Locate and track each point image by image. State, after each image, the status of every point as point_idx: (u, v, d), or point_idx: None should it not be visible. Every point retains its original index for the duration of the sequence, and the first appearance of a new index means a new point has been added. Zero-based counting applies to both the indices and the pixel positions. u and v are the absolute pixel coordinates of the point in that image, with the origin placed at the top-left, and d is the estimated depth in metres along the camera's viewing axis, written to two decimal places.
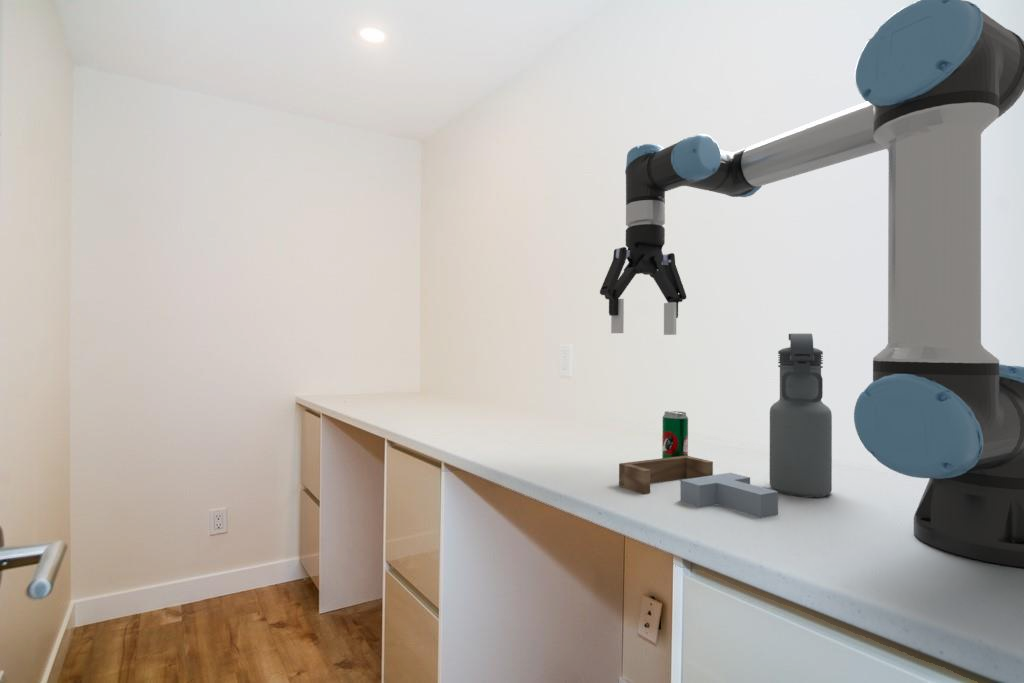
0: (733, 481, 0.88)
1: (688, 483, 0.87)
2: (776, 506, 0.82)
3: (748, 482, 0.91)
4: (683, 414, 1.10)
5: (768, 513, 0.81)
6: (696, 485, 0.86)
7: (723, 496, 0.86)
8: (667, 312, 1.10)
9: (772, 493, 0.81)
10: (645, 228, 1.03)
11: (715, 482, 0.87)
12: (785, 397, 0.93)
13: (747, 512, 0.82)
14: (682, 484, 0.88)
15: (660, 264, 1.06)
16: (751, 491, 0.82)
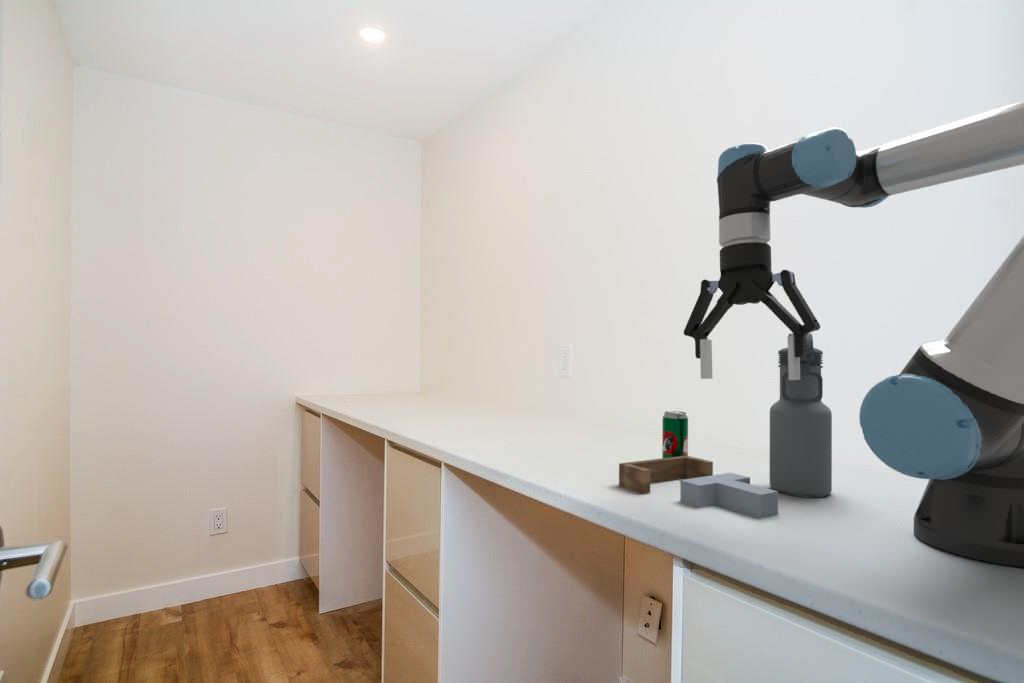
0: (733, 481, 0.88)
1: (688, 483, 0.87)
2: (776, 506, 0.82)
3: (748, 482, 0.91)
4: (683, 414, 1.10)
5: (768, 512, 0.81)
6: (696, 485, 0.86)
7: (723, 496, 0.86)
8: None
9: (772, 493, 0.81)
10: (722, 253, 0.85)
11: (715, 482, 0.87)
12: (785, 397, 0.93)
13: (747, 512, 0.82)
14: (682, 484, 0.88)
15: (758, 289, 0.82)
16: (751, 491, 0.82)
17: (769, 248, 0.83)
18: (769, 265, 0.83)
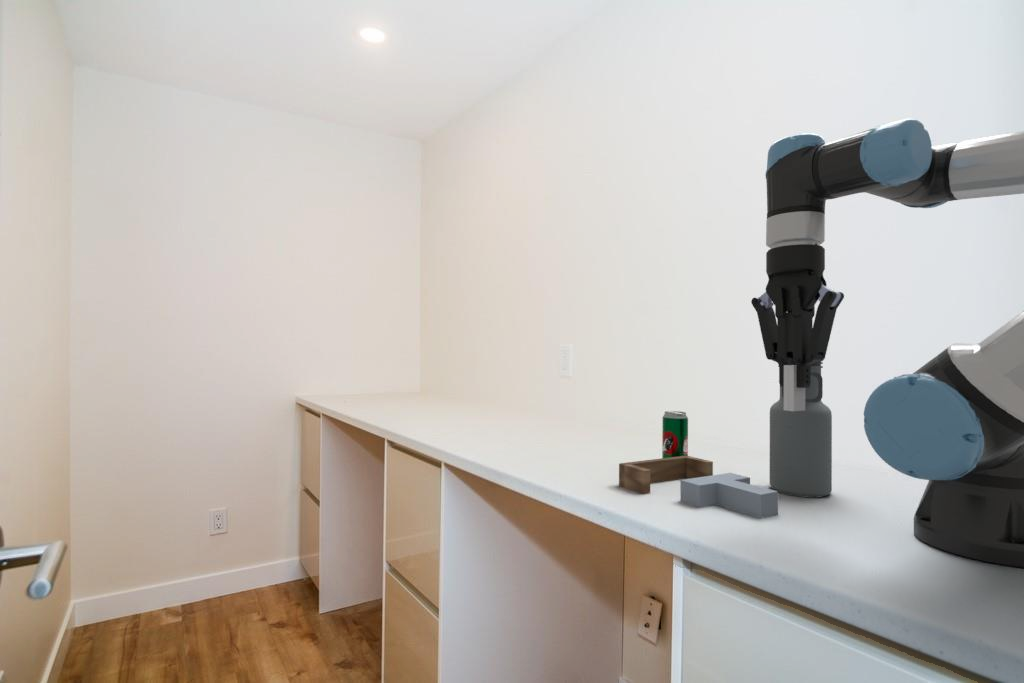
0: (733, 481, 0.88)
1: (688, 483, 0.87)
2: (776, 506, 0.82)
3: (748, 482, 0.91)
4: (683, 414, 1.10)
5: (768, 513, 0.81)
6: (696, 485, 0.86)
7: (723, 496, 0.86)
8: None
9: (772, 493, 0.81)
10: (767, 256, 0.79)
11: (715, 482, 0.87)
12: None
13: (747, 512, 0.82)
14: (682, 484, 0.88)
15: (797, 301, 0.76)
16: (751, 491, 0.82)
17: (820, 249, 0.75)
18: (819, 269, 0.75)
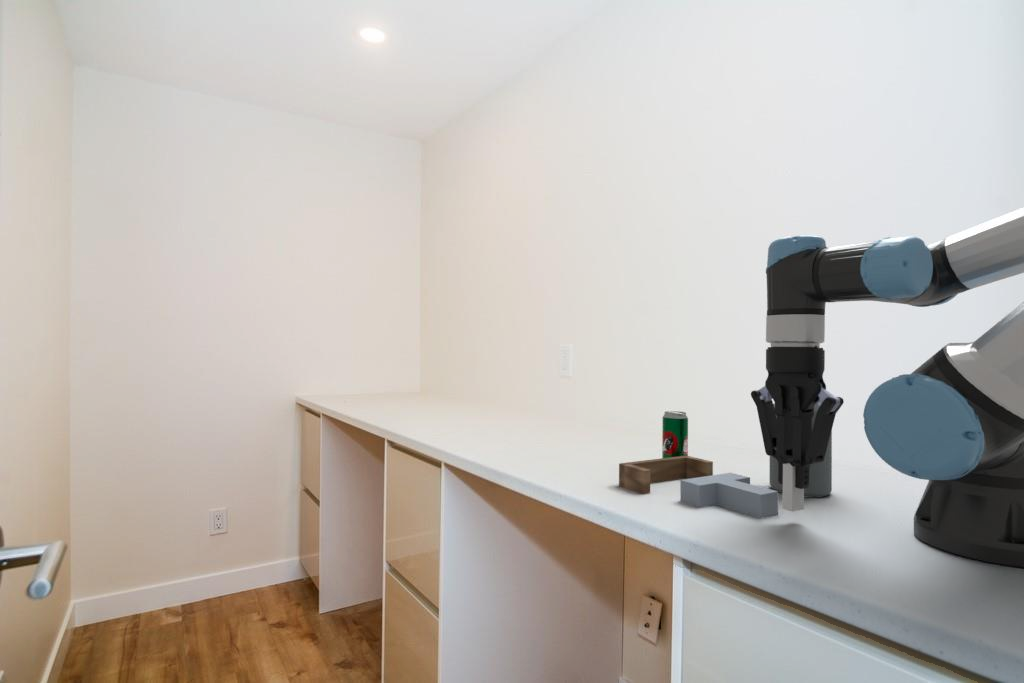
0: (733, 481, 0.88)
1: (688, 483, 0.87)
2: (776, 506, 0.82)
3: (748, 482, 0.91)
4: (683, 414, 1.10)
5: (768, 513, 0.81)
6: (696, 485, 0.86)
7: (723, 496, 0.86)
8: None
9: (772, 493, 0.81)
10: (766, 353, 0.79)
11: (715, 482, 0.87)
12: None
13: (747, 512, 0.82)
14: (682, 484, 0.88)
15: (796, 402, 0.76)
16: (751, 491, 0.82)
17: (820, 352, 0.75)
18: (819, 372, 0.74)
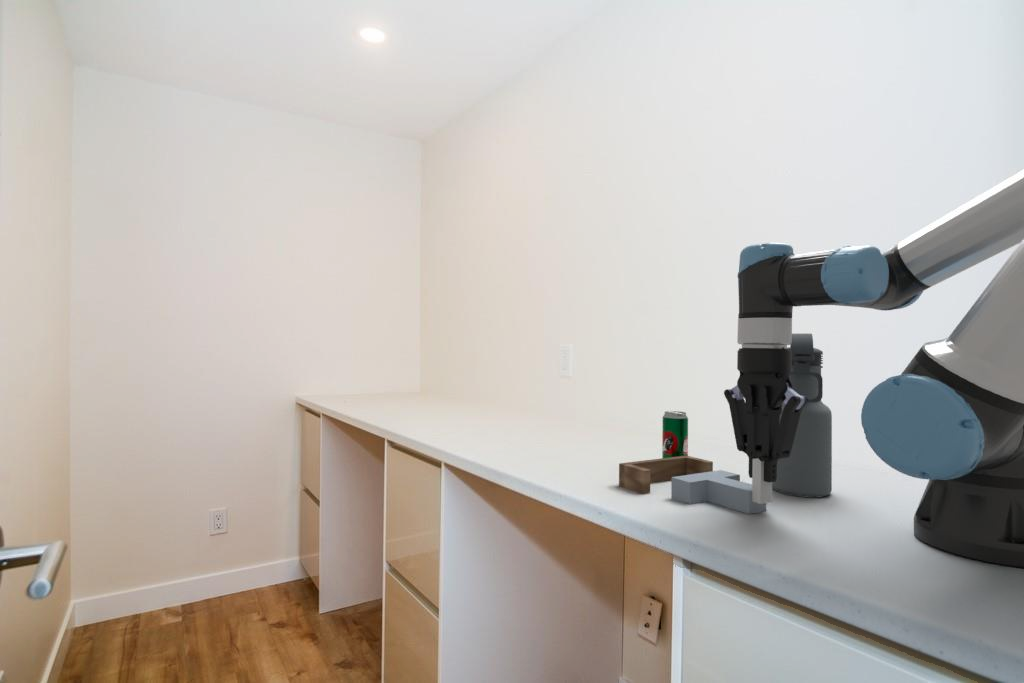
0: (723, 478, 0.90)
1: (679, 480, 0.89)
2: None
3: (738, 479, 0.92)
4: (683, 414, 1.10)
5: (757, 509, 0.83)
6: (686, 482, 0.87)
7: (713, 493, 0.88)
8: None
9: None
10: (738, 354, 0.83)
11: (705, 479, 0.89)
12: None
13: (736, 508, 0.84)
14: (673, 481, 0.90)
15: (765, 401, 0.80)
16: (740, 488, 0.84)
17: (787, 353, 0.79)
18: (785, 372, 0.79)
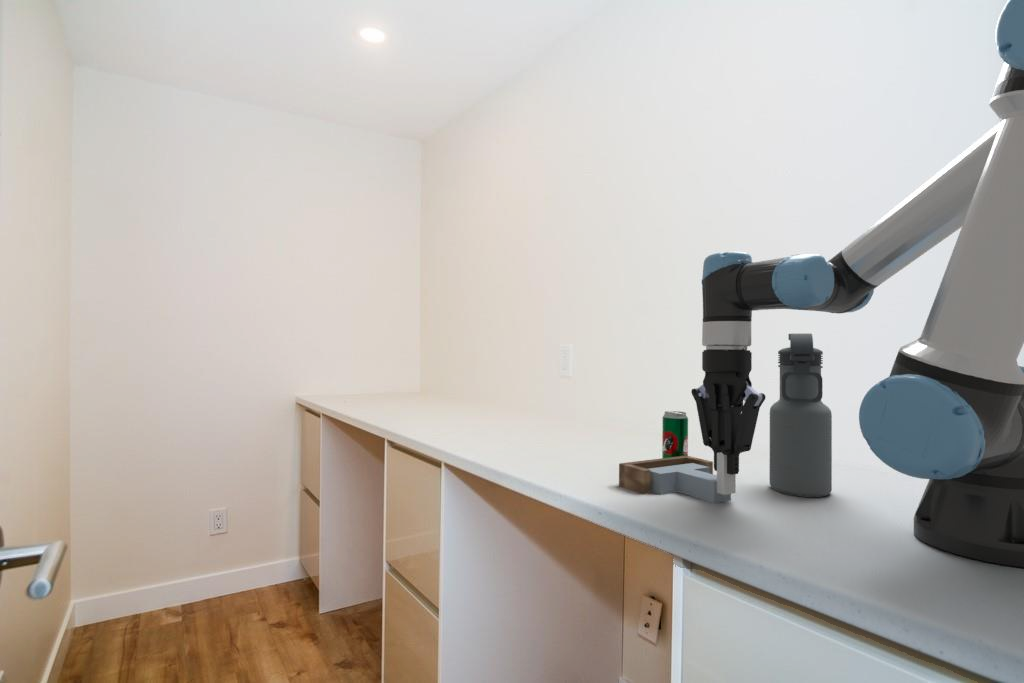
0: (692, 470, 0.96)
1: (651, 472, 0.95)
2: None
3: (707, 471, 0.98)
4: (683, 414, 1.10)
5: (721, 498, 0.89)
6: (657, 474, 0.93)
7: (682, 484, 0.94)
8: None
9: None
10: (702, 355, 0.89)
11: (676, 471, 0.95)
12: (785, 397, 0.93)
13: (703, 498, 0.90)
14: None
15: (727, 398, 0.86)
16: (706, 478, 0.90)
17: (746, 354, 0.85)
18: (745, 371, 0.85)
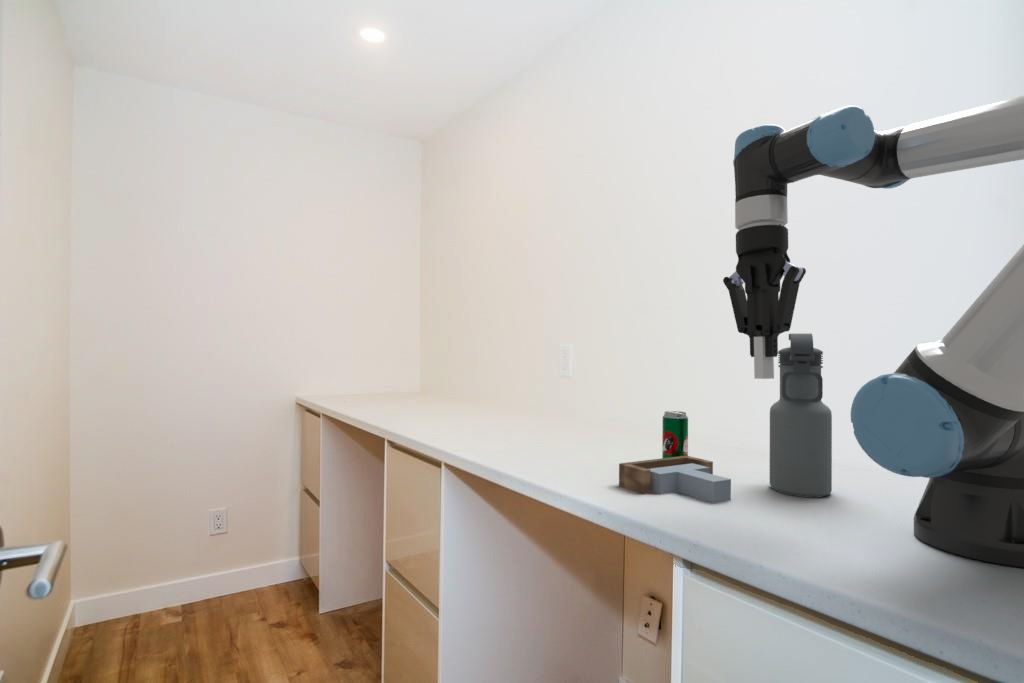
0: (692, 470, 0.96)
1: (651, 472, 0.95)
2: (729, 492, 0.89)
3: (707, 471, 0.98)
4: (683, 414, 1.10)
5: (721, 498, 0.89)
6: (657, 474, 0.93)
7: (682, 484, 0.94)
8: None
9: (725, 480, 0.89)
10: (736, 237, 0.86)
11: (675, 471, 0.95)
12: (785, 397, 0.93)
13: (702, 498, 0.90)
14: None
15: (764, 277, 0.83)
16: (706, 479, 0.90)
17: (784, 229, 0.82)
18: (783, 247, 0.82)
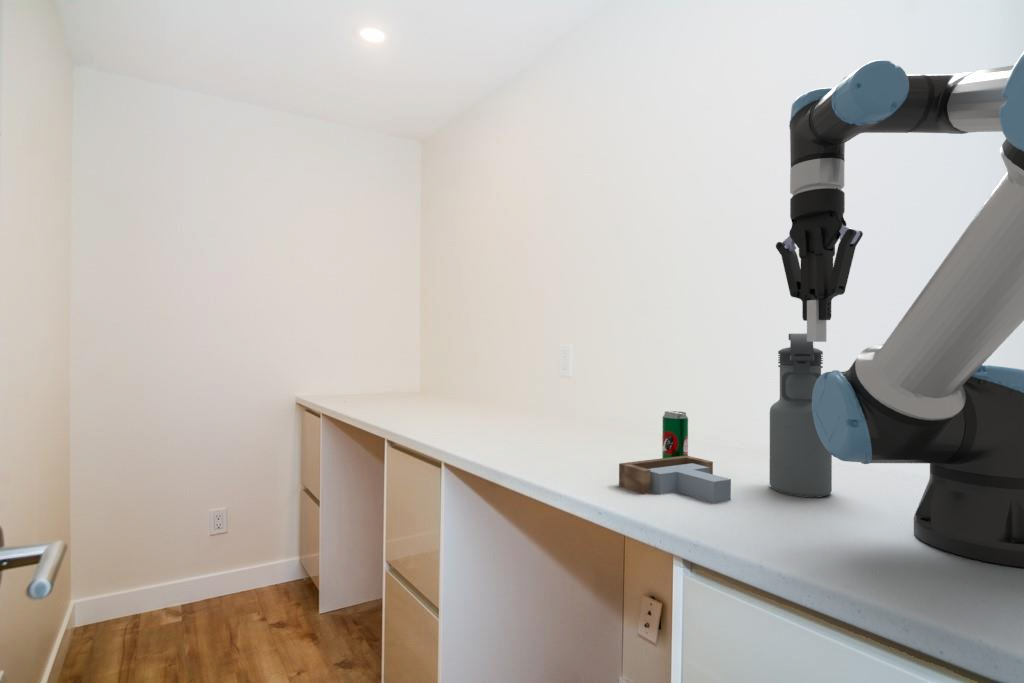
0: (692, 470, 0.96)
1: (651, 472, 0.95)
2: (729, 492, 0.89)
3: (707, 471, 0.98)
4: (683, 414, 1.10)
5: (721, 498, 0.89)
6: (657, 474, 0.93)
7: (682, 484, 0.94)
8: None
9: (725, 480, 0.89)
10: (791, 201, 0.86)
11: (675, 471, 0.95)
12: (785, 397, 0.93)
13: (702, 498, 0.90)
14: None
15: (819, 240, 0.83)
16: (706, 479, 0.90)
17: (841, 193, 0.82)
18: (840, 211, 0.82)
